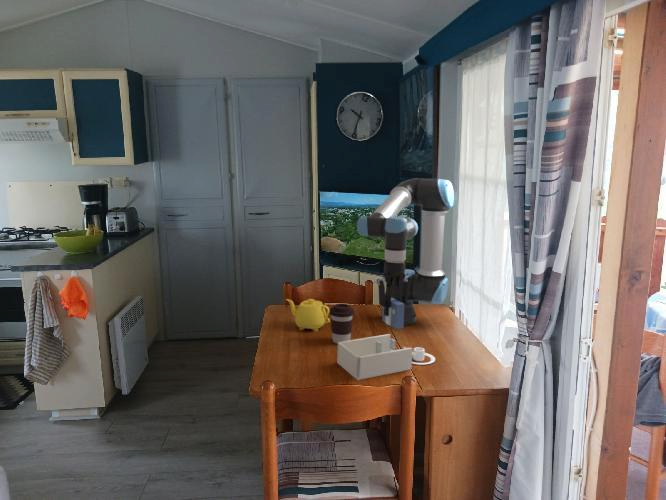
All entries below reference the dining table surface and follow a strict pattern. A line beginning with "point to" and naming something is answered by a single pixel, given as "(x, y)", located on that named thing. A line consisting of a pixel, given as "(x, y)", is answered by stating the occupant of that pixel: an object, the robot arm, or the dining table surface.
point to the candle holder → (421, 356)
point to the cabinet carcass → (373, 357)
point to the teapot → (310, 314)
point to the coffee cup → (341, 322)
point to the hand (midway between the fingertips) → (392, 323)
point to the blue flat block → (395, 314)
